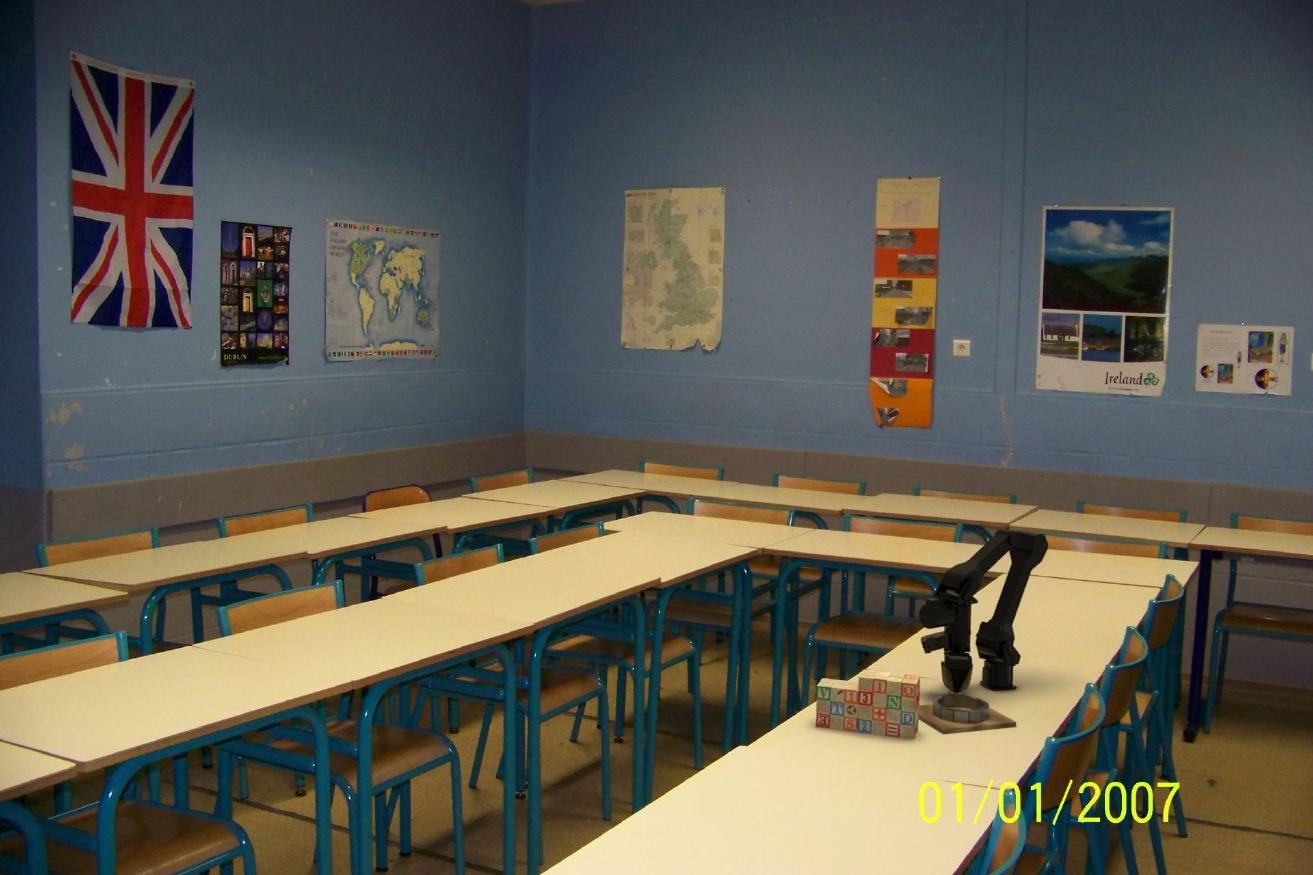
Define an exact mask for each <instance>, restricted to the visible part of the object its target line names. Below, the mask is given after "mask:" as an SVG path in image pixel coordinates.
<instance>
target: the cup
mask: <svg viewBox="0 0 1313 875" xmlns="http://www.w3.org/2000/svg"><path fill="white" fill-rule="evenodd" d="M940 668H941V679H942V684H943V685H944V687H945V688H946V689H947V693H948V694H947V695H963V696H965V690H967V689H968V688H969V686H970V685H971V680H972V676H973V670H974V669H973V668H974V664H972V669H971V670H970V671H969V673H968V675H967V677H966V679H965V681H964V683H963V685H962V687H961V689H960V692H959V693H955V692H954V688H953V682H952V676H951V672H950V671H949V670H948V669H947V668H945V667H944V659H942V660H941V661H940Z"/></svg>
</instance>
